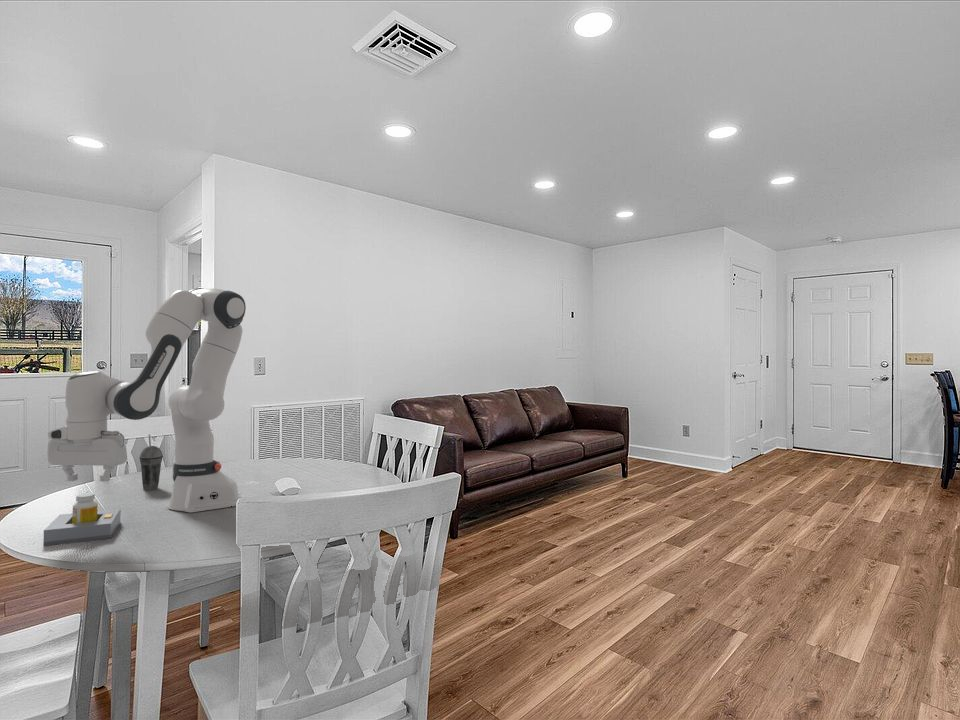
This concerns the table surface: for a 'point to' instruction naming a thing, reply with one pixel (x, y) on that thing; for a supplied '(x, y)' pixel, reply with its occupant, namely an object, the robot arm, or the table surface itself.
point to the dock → (82, 528)
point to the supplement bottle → (85, 508)
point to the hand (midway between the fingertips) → (88, 480)
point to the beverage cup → (150, 466)
